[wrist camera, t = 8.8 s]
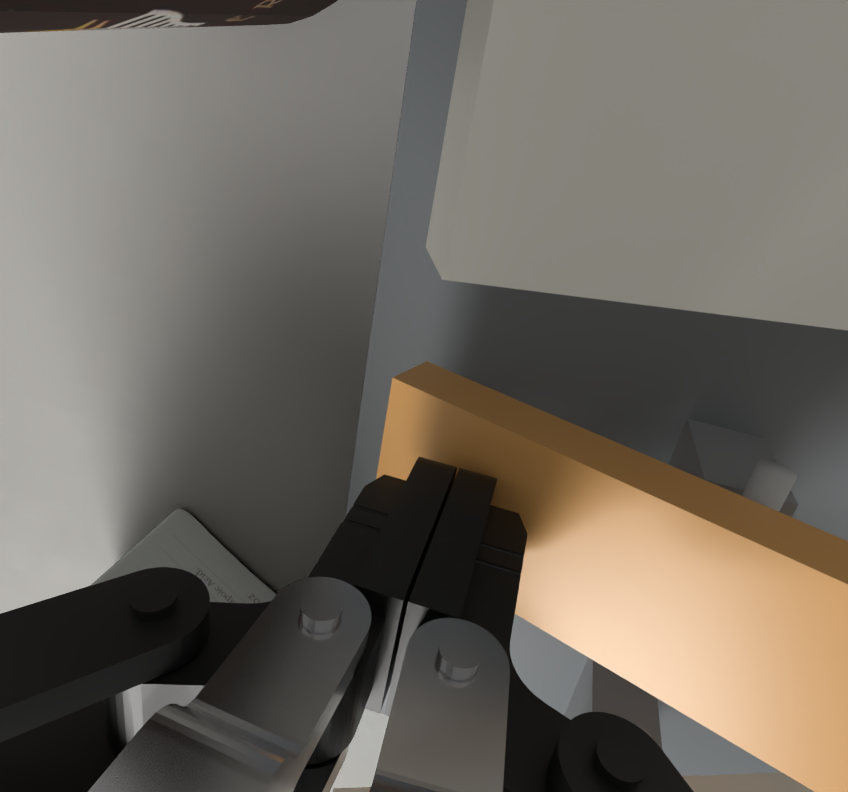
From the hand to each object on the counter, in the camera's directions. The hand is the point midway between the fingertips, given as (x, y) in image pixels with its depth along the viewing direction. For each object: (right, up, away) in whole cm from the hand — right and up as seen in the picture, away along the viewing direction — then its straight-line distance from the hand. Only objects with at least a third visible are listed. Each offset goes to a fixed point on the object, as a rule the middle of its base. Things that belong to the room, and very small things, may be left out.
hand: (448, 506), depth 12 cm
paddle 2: (+5, -1, 0) cm, 5 cm away
